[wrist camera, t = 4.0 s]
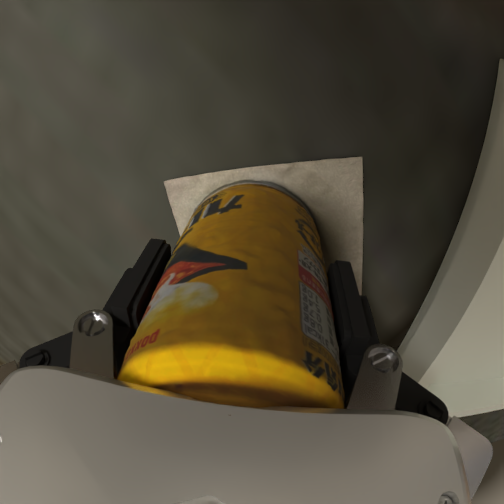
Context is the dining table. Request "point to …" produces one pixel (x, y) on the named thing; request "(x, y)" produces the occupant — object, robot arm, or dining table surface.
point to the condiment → (253, 286)
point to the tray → (468, 294)
